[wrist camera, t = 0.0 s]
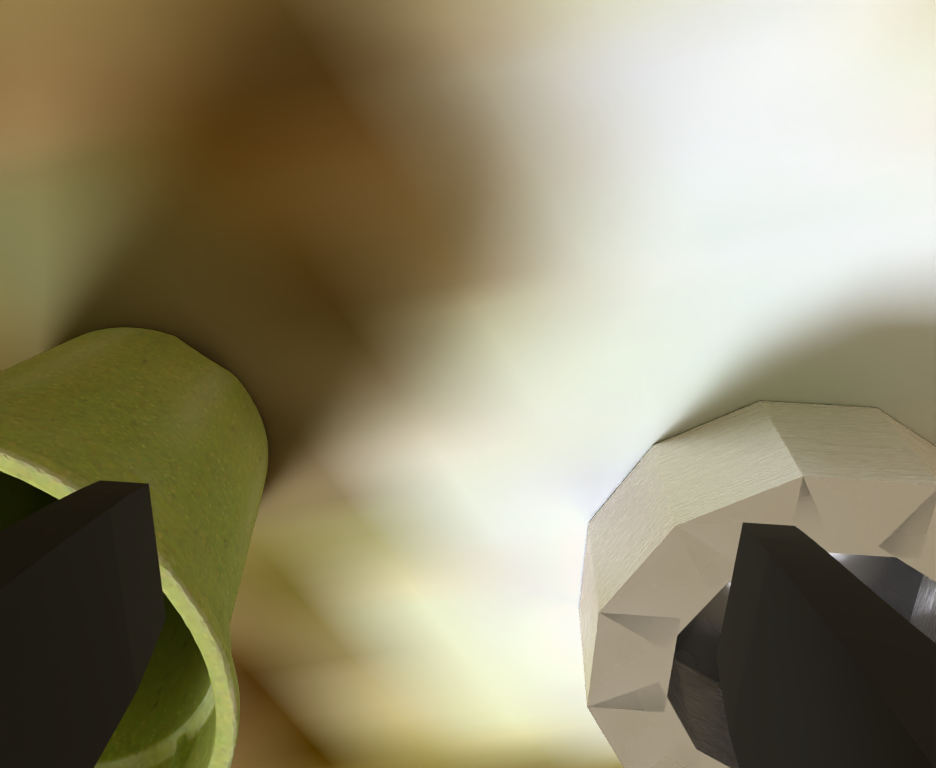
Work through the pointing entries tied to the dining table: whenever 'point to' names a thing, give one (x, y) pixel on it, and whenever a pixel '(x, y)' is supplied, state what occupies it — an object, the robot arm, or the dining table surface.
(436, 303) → the dining table surface
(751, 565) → the robot arm
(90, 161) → the dining table surface
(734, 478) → the faceted ring
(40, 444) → the plant pot
